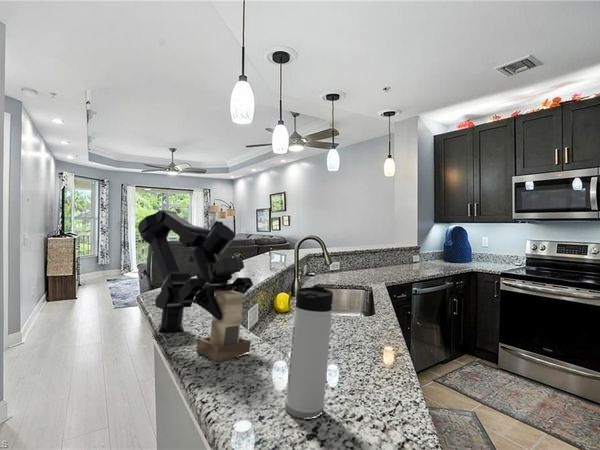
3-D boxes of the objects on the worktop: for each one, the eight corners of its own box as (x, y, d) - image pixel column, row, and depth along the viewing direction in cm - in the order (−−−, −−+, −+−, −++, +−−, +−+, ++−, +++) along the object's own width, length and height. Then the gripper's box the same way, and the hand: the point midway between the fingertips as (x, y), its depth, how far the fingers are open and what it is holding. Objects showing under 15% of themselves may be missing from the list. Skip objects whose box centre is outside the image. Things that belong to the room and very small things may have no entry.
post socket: (196, 351, 75) (198, 338, 75) (227, 344, 82) (228, 333, 82) (218, 362, 70) (219, 348, 70) (249, 354, 77) (250, 341, 77)
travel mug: (327, 405, 55) (337, 288, 56) (317, 424, 49) (328, 292, 50) (293, 396, 57) (304, 284, 59) (279, 413, 51) (291, 287, 52)
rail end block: (208, 351, 75) (215, 291, 76) (225, 347, 79) (232, 290, 80) (221, 357, 72) (228, 294, 73) (238, 353, 76) (244, 293, 77)
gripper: (191, 242, 73) (215, 300, 65) (252, 247, 87) (277, 295, 80) (169, 273, 77) (189, 330, 70) (230, 273, 92) (252, 320, 84)
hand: (230, 317), depth 76 cm, fingers open, 6 cm apart
